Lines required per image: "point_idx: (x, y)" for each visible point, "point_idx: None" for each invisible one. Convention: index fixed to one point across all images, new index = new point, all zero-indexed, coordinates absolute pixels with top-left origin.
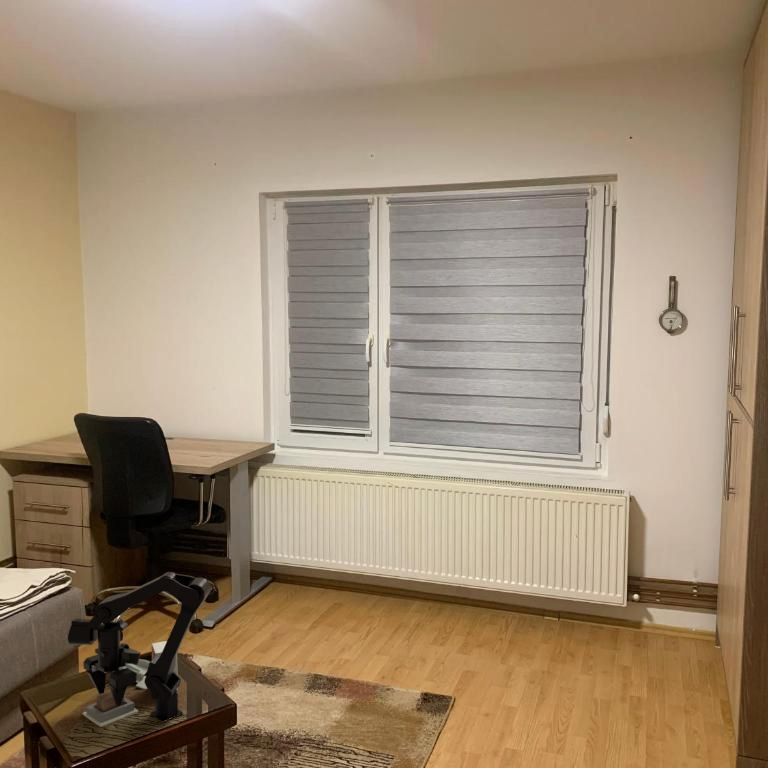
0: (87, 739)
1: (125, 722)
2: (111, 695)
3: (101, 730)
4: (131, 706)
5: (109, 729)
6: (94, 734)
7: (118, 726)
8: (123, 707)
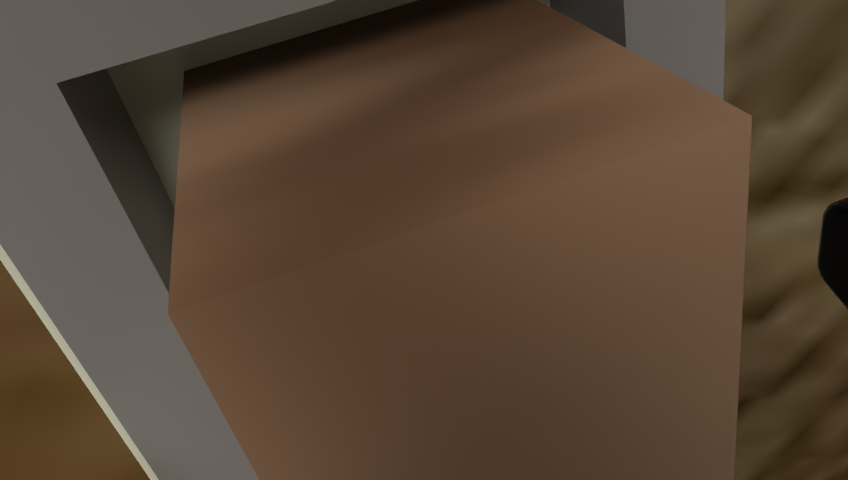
0: (810, 463)
1: (821, 50)
2: (635, 466)
3: (760, 351)
4: None
5: (812, 273)
6: (778, 413)
7: (838, 164)
8: (720, 76)
